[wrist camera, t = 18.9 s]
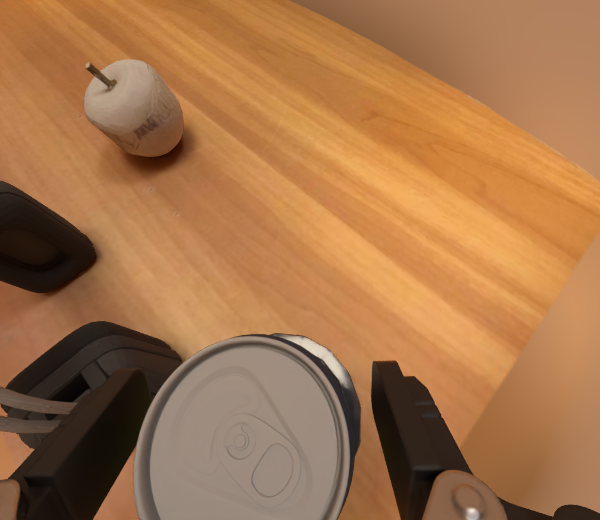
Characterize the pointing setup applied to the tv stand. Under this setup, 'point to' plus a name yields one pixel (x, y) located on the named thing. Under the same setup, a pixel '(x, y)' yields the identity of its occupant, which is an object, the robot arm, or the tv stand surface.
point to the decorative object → (134, 108)
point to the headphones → (76, 346)
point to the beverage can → (246, 437)
